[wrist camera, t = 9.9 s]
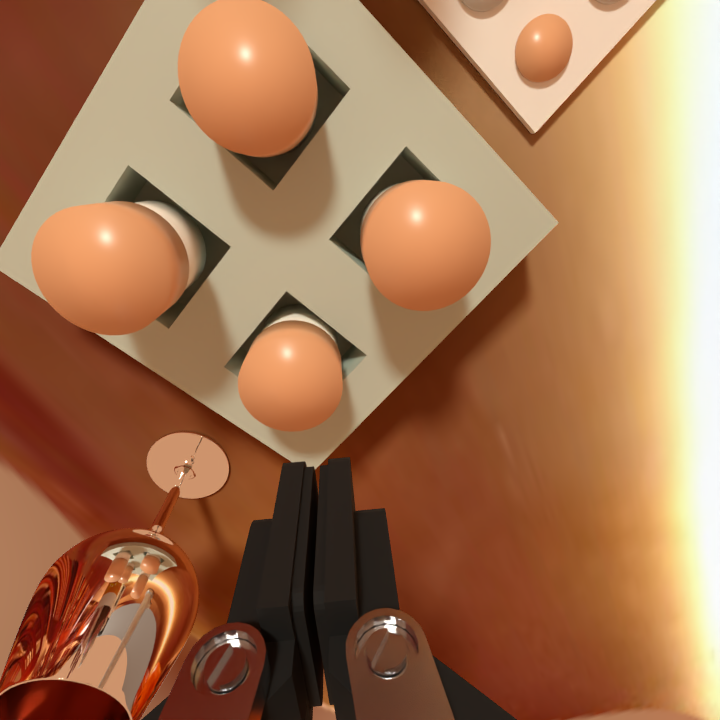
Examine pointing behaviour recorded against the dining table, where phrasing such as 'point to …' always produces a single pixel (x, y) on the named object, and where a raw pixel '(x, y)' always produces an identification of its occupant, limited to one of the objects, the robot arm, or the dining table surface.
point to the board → (281, 209)
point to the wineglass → (113, 607)
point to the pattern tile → (535, 45)
